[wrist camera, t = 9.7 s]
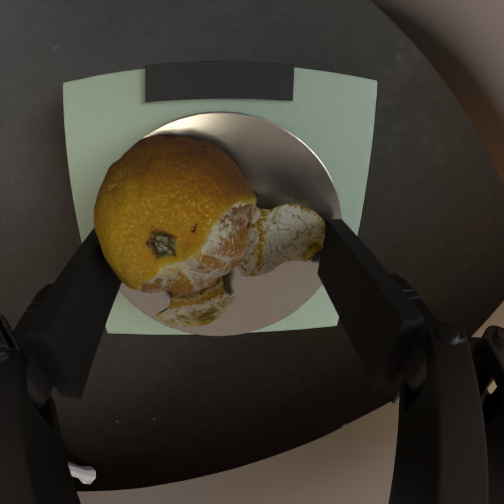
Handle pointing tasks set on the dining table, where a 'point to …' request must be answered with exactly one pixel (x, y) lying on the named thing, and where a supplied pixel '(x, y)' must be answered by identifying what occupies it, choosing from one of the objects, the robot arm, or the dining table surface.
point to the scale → (219, 99)
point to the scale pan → (268, 197)
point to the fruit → (193, 226)
